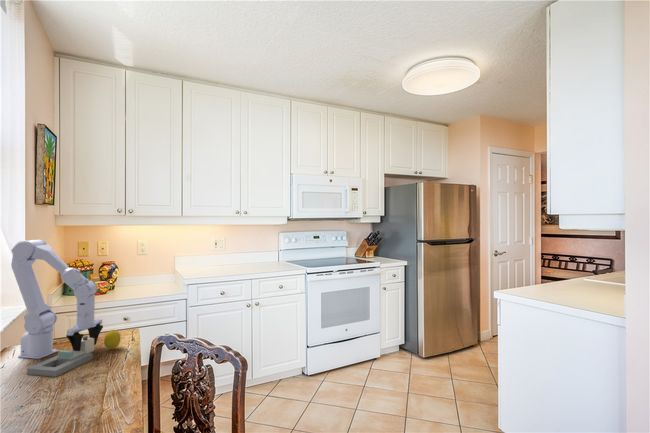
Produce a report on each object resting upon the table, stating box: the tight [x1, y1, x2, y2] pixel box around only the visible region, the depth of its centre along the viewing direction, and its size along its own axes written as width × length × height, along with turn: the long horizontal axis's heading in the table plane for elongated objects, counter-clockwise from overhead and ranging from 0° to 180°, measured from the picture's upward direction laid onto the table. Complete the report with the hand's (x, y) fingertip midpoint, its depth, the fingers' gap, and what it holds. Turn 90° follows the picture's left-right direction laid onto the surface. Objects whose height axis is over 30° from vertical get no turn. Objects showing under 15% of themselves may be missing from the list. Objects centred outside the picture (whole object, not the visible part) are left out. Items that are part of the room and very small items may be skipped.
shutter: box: [56, 349, 86, 360], centre depth 125 cm, size 6×6×3 cm
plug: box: [80, 335, 95, 353], centre depth 134 cm, size 4×4×6 cm
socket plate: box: [26, 352, 94, 378], centre depth 121 cm, size 11×15×2 cm
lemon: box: [103, 329, 121, 351], centre depth 137 cm, size 6×6×8 cm
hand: (85, 347), depth 134 cm, fingers open, 7 cm apart
